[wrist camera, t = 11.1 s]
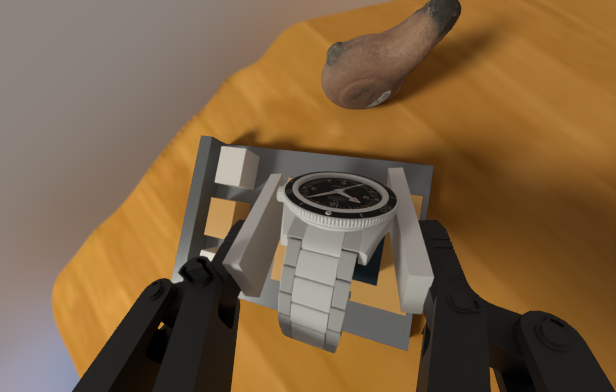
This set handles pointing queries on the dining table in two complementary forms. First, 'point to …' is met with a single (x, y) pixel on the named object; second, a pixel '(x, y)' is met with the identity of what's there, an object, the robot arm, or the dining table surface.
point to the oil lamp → (385, 57)
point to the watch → (329, 249)
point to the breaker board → (237, 205)
